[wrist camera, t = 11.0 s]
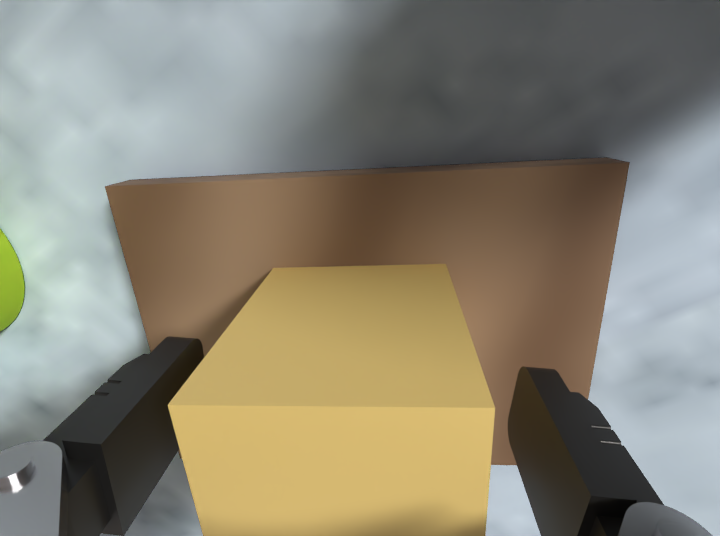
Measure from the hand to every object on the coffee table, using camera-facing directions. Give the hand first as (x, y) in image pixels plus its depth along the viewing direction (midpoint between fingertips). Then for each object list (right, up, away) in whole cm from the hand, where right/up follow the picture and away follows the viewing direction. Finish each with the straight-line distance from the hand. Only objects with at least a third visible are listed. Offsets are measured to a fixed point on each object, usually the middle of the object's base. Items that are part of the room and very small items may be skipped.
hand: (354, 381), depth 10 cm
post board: (0, +1, +3) cm, 4 cm away
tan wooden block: (0, +1, +2) cm, 2 cm away
